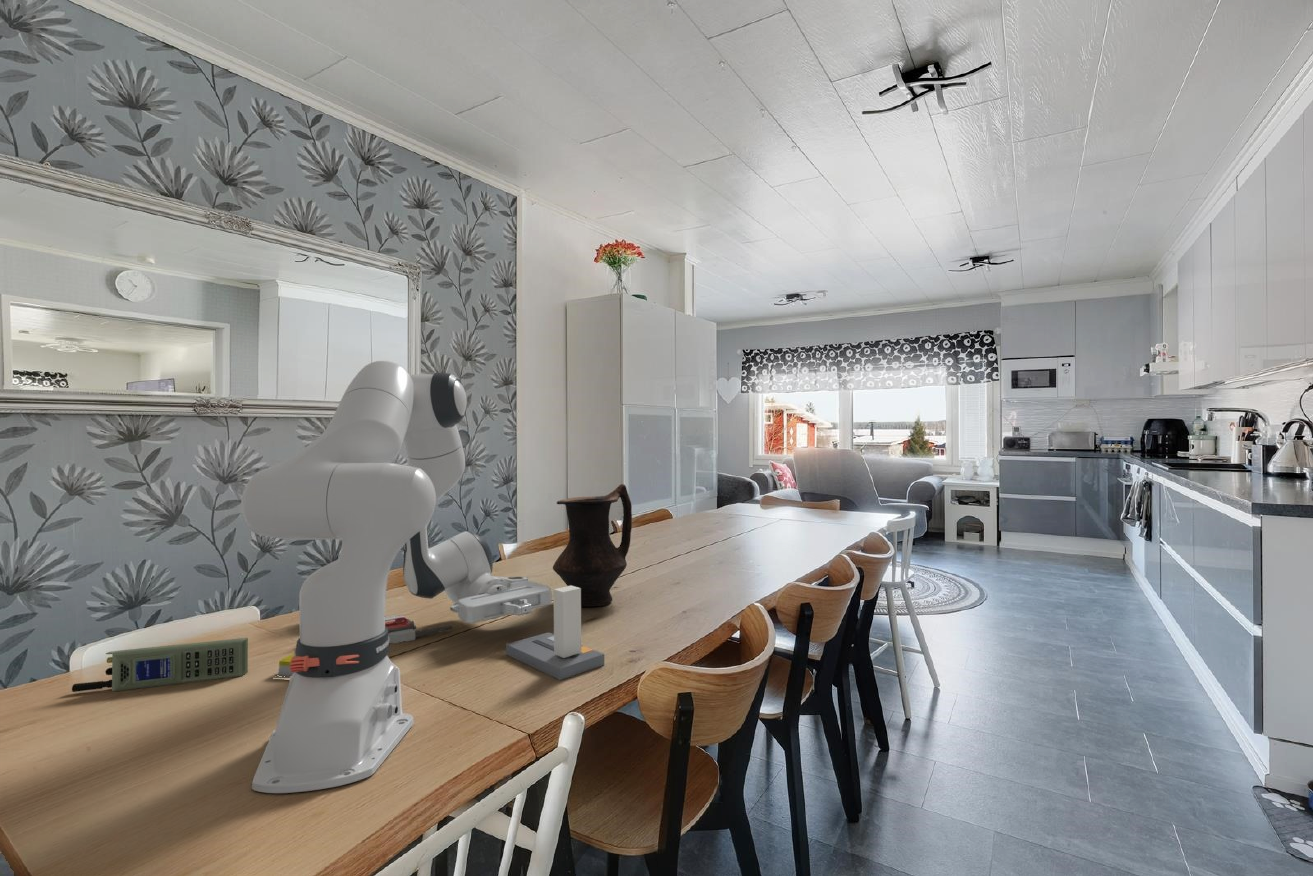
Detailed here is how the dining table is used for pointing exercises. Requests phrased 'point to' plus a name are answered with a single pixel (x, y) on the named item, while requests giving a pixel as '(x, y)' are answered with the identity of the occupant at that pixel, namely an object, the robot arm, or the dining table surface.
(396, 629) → the walkie-talkie
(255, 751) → the dining table surface
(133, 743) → the dining table surface
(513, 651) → the switch panel
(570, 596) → the switch tab
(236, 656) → the handheld radio
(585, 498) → the jug
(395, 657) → the dining table surface
